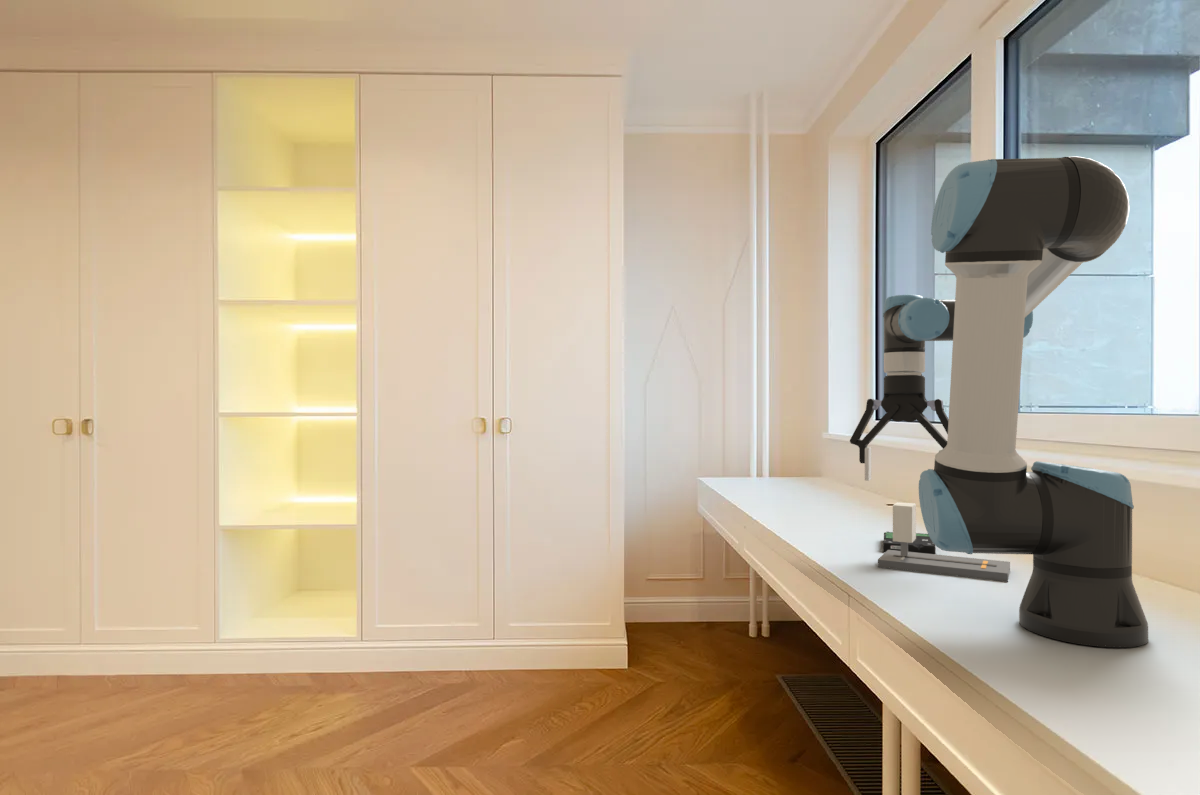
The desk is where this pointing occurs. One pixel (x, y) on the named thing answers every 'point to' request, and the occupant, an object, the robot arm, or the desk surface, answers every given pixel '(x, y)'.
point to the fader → (904, 524)
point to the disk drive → (910, 544)
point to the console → (946, 565)
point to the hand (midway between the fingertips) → (903, 482)
